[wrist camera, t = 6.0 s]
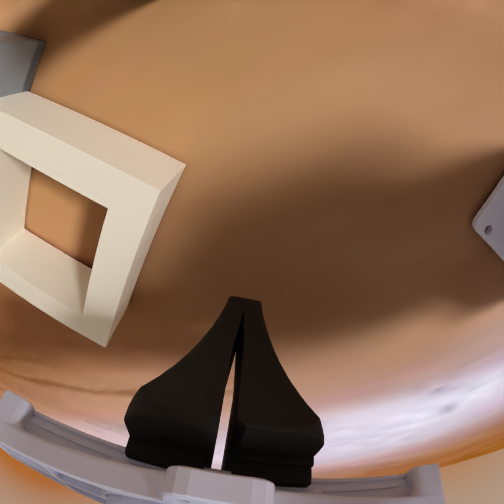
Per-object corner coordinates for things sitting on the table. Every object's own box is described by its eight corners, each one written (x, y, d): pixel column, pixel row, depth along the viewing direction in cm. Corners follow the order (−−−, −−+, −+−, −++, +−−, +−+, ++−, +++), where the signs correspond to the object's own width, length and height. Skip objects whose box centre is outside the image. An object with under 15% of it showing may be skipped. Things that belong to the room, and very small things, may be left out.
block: (186, 164, 12) (160, 191, 9) (126, 308, 16) (105, 347, 14) (27, 91, 10) (-18, 102, 8) (6, 236, 15) (-24, 263, 12)
